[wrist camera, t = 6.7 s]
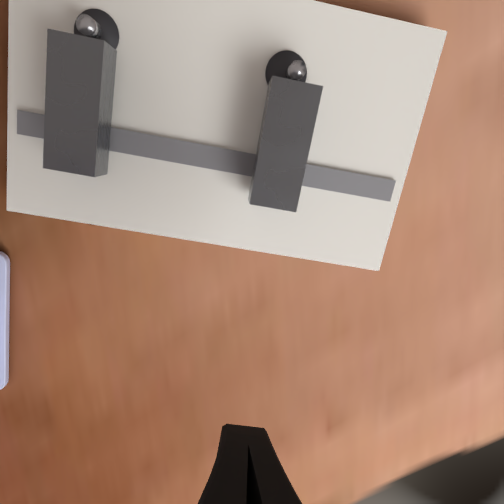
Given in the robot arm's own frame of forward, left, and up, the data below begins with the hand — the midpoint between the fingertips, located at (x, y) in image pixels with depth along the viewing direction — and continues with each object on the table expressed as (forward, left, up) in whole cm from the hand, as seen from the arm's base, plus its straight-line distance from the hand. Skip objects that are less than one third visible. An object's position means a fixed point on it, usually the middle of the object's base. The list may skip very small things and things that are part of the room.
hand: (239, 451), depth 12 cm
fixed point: (-8, +10, -7) cm, 15 cm away
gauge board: (-2, +10, -9) cm, 14 cm away
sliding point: (0, +10, -7) cm, 12 cm away
